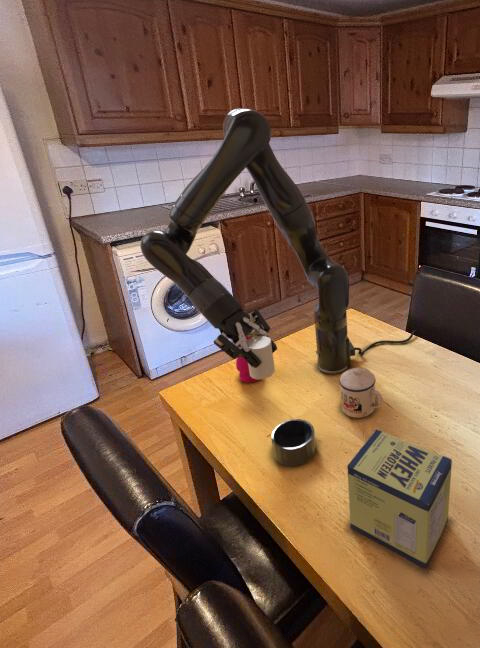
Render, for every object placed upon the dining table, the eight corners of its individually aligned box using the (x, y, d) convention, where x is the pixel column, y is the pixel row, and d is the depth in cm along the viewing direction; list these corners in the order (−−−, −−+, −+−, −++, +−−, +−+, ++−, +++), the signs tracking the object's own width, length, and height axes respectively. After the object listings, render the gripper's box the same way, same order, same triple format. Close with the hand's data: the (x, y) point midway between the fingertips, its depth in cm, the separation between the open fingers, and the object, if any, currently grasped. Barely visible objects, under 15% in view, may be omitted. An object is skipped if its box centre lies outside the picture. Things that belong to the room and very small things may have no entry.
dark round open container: (310, 431, 100) (309, 415, 98) (319, 460, 91) (318, 442, 90) (271, 441, 97) (269, 424, 95) (276, 471, 89) (274, 454, 87)
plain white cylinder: (273, 363, 98) (269, 334, 95) (276, 376, 94) (272, 346, 90) (249, 368, 97) (244, 338, 94) (250, 381, 92) (245, 350, 89)
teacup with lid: (333, 410, 107) (331, 372, 102) (354, 391, 113) (353, 355, 109) (371, 428, 100) (371, 389, 96) (392, 408, 107) (392, 370, 102)
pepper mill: (267, 369, 124) (259, 309, 116) (258, 384, 117) (249, 321, 109) (243, 368, 124) (234, 309, 117) (234, 383, 118) (223, 321, 110)
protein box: (376, 487, 85) (375, 427, 79) (448, 521, 77) (454, 458, 71) (348, 528, 76) (345, 465, 70) (426, 571, 69) (430, 505, 63)
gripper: (199, 307, 84) (256, 368, 85) (243, 281, 96) (292, 334, 97) (184, 326, 88) (239, 384, 89) (228, 298, 100) (276, 350, 101)
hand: (266, 357), depth 93 cm, fingers closed on plain white cylinder, 5 cm apart
